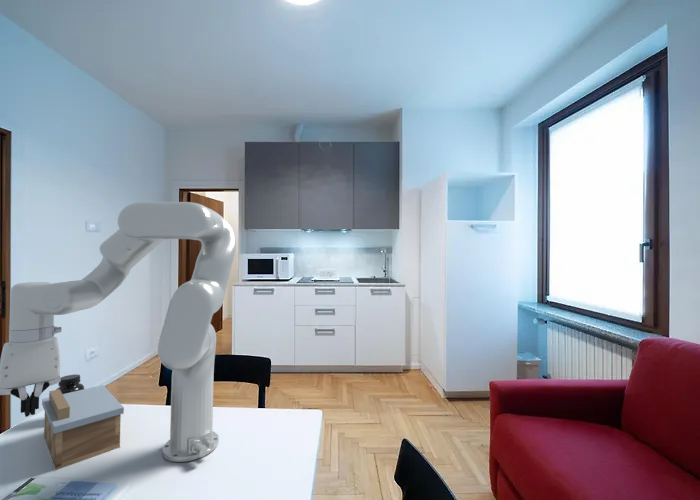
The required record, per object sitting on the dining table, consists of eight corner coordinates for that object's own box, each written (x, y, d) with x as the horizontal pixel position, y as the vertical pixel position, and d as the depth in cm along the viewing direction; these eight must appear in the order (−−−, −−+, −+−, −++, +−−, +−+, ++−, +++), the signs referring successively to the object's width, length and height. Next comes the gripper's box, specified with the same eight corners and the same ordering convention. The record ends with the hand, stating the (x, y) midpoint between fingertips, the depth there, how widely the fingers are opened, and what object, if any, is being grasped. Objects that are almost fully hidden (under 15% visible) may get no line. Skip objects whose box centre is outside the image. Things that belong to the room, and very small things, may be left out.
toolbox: (119, 447, 82) (120, 414, 82) (55, 470, 73) (56, 433, 73) (100, 420, 95) (101, 392, 95) (43, 436, 86) (44, 405, 86)
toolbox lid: (123, 413, 82) (124, 397, 82) (53, 433, 72) (54, 415, 73) (102, 390, 96) (103, 376, 96) (42, 404, 86) (42, 389, 87)
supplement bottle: (89, 414, 99) (90, 373, 99) (66, 425, 92) (67, 382, 92) (70, 411, 100) (72, 372, 100) (46, 423, 93) (47, 380, 94)
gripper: (70, 327, 86) (68, 399, 85) (-16, 338, 74) (-19, 420, 74) (75, 332, 81) (73, 408, 80) (-16, 344, 69) (-19, 432, 69)
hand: (29, 413), depth 77 cm, fingers closed
